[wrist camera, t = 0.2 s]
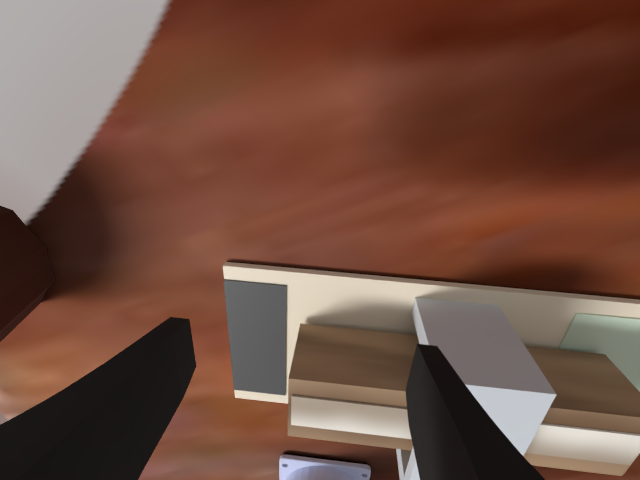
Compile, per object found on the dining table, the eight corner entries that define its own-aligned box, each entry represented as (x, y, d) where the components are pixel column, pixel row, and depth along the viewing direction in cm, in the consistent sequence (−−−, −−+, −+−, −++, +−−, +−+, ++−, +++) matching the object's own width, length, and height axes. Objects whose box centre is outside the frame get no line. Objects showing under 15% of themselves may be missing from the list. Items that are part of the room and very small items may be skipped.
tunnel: (610, 434, 24) (696, 552, 18) (237, 392, 26) (201, 486, 20) (701, 305, 19) (864, 409, 13) (225, 261, 21) (173, 336, 15)
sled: (574, 406, 22) (623, 478, 18) (298, 375, 23) (287, 437, 19) (604, 354, 20) (668, 422, 16) (300, 323, 21) (287, 380, 17)
